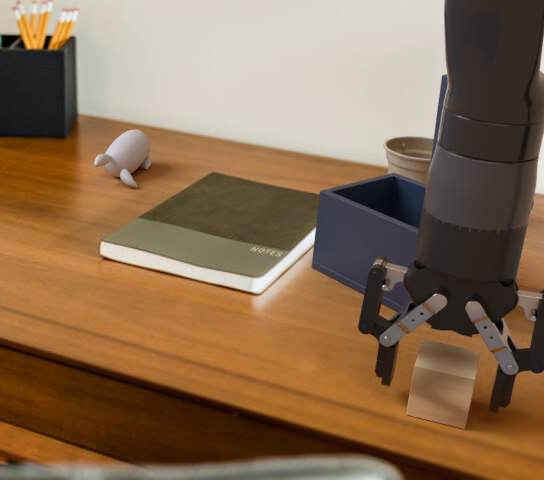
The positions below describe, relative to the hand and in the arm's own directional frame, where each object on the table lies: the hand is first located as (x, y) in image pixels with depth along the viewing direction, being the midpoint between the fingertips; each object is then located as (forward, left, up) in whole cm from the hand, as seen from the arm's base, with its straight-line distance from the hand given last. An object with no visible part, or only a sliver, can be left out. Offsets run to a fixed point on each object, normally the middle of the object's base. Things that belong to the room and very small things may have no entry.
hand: (439, 394), depth 72 cm
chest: (+21, -11, -1) cm, 24 cm away
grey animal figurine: (+60, +5, -1) cm, 60 cm away
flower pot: (+37, -25, -1) cm, 44 cm away
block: (0, 0, -1) cm, 1 cm away
